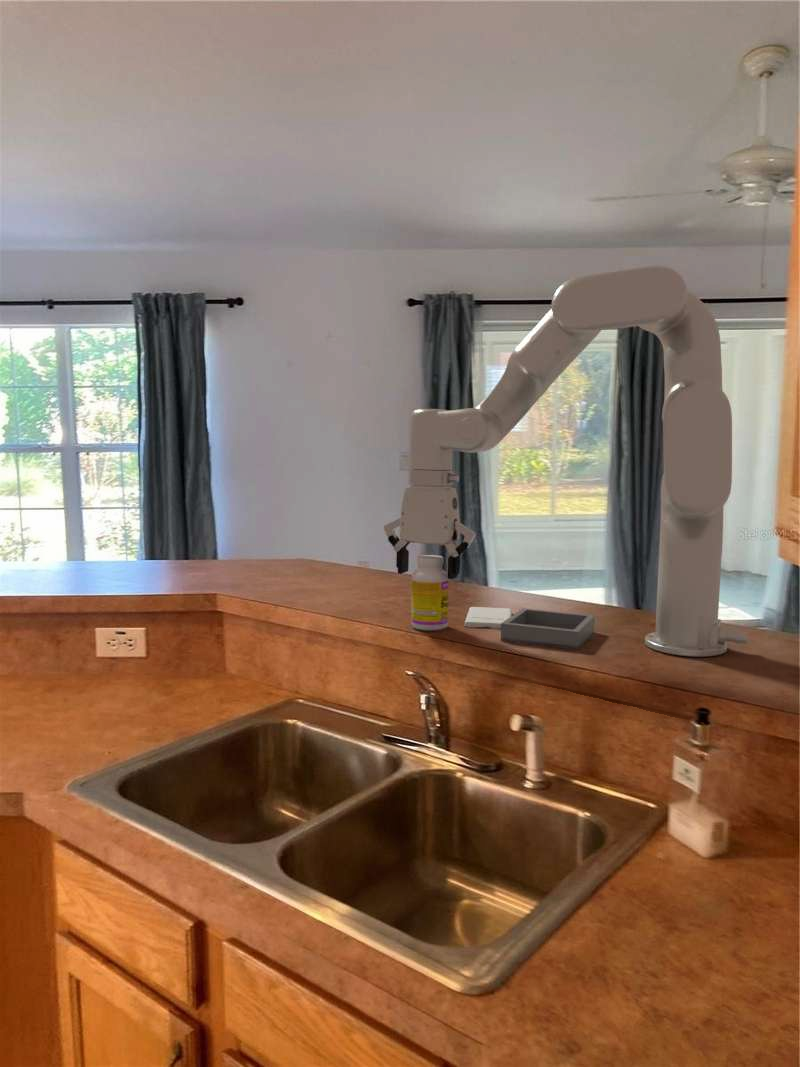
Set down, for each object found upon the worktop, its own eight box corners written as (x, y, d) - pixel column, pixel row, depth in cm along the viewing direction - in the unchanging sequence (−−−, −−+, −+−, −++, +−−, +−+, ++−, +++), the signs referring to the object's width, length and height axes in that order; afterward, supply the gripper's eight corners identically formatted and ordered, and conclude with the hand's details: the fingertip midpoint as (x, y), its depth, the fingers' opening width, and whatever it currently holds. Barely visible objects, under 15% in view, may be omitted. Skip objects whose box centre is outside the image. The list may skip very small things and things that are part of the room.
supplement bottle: (445, 632, 137) (446, 560, 135) (408, 630, 138) (408, 559, 137) (450, 623, 144) (451, 554, 142) (415, 622, 145) (415, 553, 143)
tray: (594, 632, 138) (594, 615, 137) (577, 650, 126) (578, 631, 126) (522, 624, 143) (523, 608, 143) (500, 640, 132) (501, 623, 131)
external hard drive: (511, 616, 152) (509, 632, 140) (469, 614, 154) (464, 629, 141) (511, 608, 152) (510, 623, 140) (469, 606, 153) (464, 620, 141)
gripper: (483, 481, 137) (480, 576, 140) (395, 476, 145) (393, 567, 147) (469, 483, 131) (465, 583, 133) (376, 478, 138) (374, 573, 140)
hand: (427, 575), depth 140 cm, fingers open, 9 cm apart
